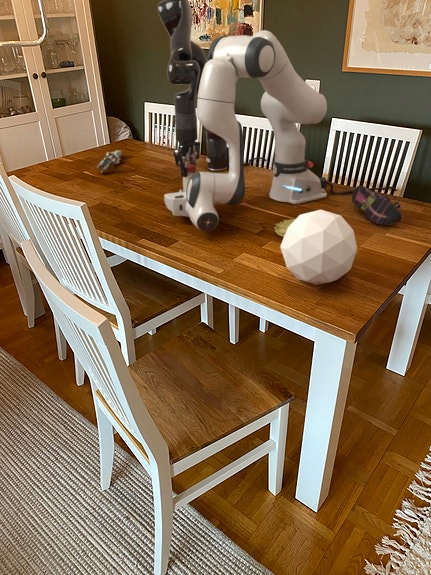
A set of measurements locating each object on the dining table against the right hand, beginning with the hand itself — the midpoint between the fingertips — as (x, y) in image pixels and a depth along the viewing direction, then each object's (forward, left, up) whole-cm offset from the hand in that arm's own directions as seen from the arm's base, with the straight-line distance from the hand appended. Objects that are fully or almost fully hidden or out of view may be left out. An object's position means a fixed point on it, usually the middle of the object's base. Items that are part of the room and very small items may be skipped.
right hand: (188, 190), depth 164 cm
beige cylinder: (0, +1, -7) cm, 7 cm away
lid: (0, +1, +9) cm, 9 cm away
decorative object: (-30, +34, -7) cm, 46 cm away
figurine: (+25, -64, -7) cm, 69 cm away
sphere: (-22, +61, -7) cm, 66 cm away
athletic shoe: (-62, +30, -7) cm, 69 cm away
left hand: (0, +1, +6) cm, 7 cm away
